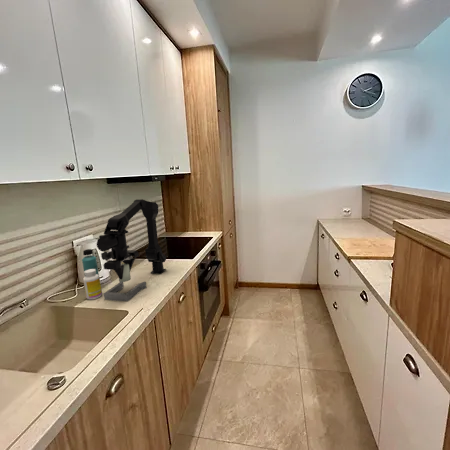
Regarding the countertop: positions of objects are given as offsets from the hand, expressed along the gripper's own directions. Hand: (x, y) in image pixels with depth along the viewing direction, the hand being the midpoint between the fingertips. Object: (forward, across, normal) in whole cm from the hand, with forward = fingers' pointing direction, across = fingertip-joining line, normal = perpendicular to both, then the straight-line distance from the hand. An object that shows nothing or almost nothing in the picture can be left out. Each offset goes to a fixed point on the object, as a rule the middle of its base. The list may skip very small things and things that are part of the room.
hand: (124, 276), depth 122 cm
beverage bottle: (+8, -2, -20) cm, 22 cm away
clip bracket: (+8, +1, 0) cm, 8 cm away
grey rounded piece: (+2, 0, 0) cm, 2 cm away
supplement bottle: (+8, +6, -13) cm, 16 cm away
